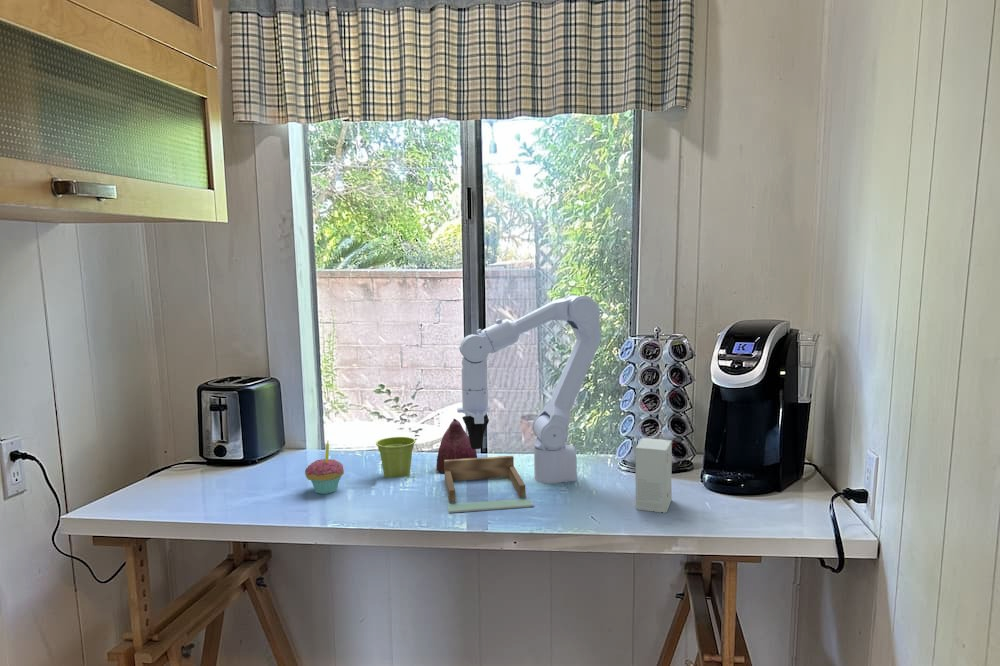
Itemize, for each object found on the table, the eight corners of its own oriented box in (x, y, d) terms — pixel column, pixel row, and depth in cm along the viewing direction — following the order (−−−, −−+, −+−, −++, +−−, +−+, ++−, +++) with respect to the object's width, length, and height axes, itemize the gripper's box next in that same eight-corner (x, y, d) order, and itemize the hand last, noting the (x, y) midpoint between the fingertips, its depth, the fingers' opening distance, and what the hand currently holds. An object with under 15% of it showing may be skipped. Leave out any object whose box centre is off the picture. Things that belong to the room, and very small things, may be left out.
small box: (641, 496, 134) (642, 437, 133) (672, 500, 131) (672, 439, 130) (634, 509, 127) (634, 447, 125) (666, 513, 124) (666, 450, 123)
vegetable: (471, 488, 151) (474, 434, 145) (430, 480, 153) (432, 426, 147) (482, 465, 160) (485, 413, 155) (443, 458, 162) (445, 407, 157)
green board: (529, 497, 130) (534, 506, 125) (529, 503, 130) (534, 512, 125) (446, 503, 127) (448, 512, 122) (447, 509, 127) (448, 518, 123)
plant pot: (370, 475, 151) (369, 441, 150) (404, 468, 157) (403, 434, 156) (388, 485, 144) (387, 448, 143) (423, 476, 150) (422, 441, 149)
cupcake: (352, 489, 141) (350, 438, 140) (318, 500, 135) (316, 446, 134) (331, 481, 147) (329, 432, 146) (298, 491, 141) (296, 439, 140)
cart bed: (513, 480, 146) (512, 455, 145) (526, 505, 130) (526, 477, 129) (444, 485, 143) (444, 459, 143) (450, 510, 128) (449, 482, 127)
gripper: (454, 383, 145) (455, 440, 146) (459, 395, 131) (461, 458, 132) (484, 382, 146) (485, 439, 147) (493, 393, 132) (494, 456, 133)
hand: (476, 448), depth 140 cm, fingers closed
